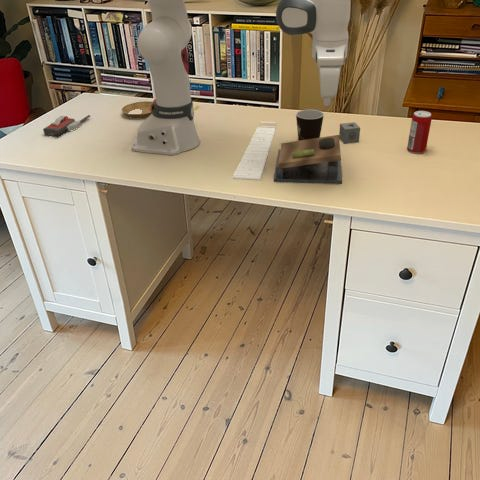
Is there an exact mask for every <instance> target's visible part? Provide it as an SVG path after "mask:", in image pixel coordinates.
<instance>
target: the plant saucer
mask: <svg viewBox="0 0 480 480" xmlns="http://www.w3.org/2000/svg"><path fill="white" fill-rule="evenodd" d="M152 102H153V101H136V102H132V103H129V104H126V105H125V106H123V107H122V108H121V112H122V113H123V114H124V115H125V116H127V117H129V118H130V117H131V119H134V118H142V119H147V118H148V117H149V116H150V115H151V114H152V112H150V107H151V105H152ZM135 109H140V110H142V113H141V114H128V113H129V112H130V111H132V110H135Z"/></svg>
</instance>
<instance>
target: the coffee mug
mask: <svg viewBox="0 0 480 480" xmlns="http://www.w3.org/2000/svg"><path fill="white" fill-rule="evenodd" d="M324 115H325V113H324V112H323V111H321V110H318V109H302V110H298V111H297V112H296V113H295V118H296V130H297V141H300V140H307V139H314V138H320V137H321V134H322V133H321V132H322V127H323V121H324Z"/></svg>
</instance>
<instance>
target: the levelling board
mask: <svg viewBox="0 0 480 480" xmlns="http://www.w3.org/2000/svg"><path fill="white" fill-rule="evenodd" d="M340 141H341V140H340V139H339V134H335V135H329V136H320V138H314V139H307V140H300V141H298V140H295V141H294V140H293V141H289V142H281V143H280V155H279V162H278V165H279V168H287V167H294V166H301V165H309V164H316V163H323V162H330V161H338V160H341V161H342V153H341V143H340Z"/></svg>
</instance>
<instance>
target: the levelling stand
mask: <svg viewBox="0 0 480 480" xmlns="http://www.w3.org/2000/svg"><path fill="white" fill-rule="evenodd" d="M280 149H281V148H280ZM280 149H279V148H278V151H277V156H276V160H275V161H276V162H275V168H274V174H273V183H290V184H291V183H294V184H296V183H298V184H304V183H306V184H328V185H329V184H330V185H332V184H333V185H334V184H336V185H341V184H343V171H342V162H341V161H342V159H341V160H338V161H330V162H323V163H316V164H309V165H301V166H294V167H287V168H279V165H278V162H279V155H280Z"/></svg>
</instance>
